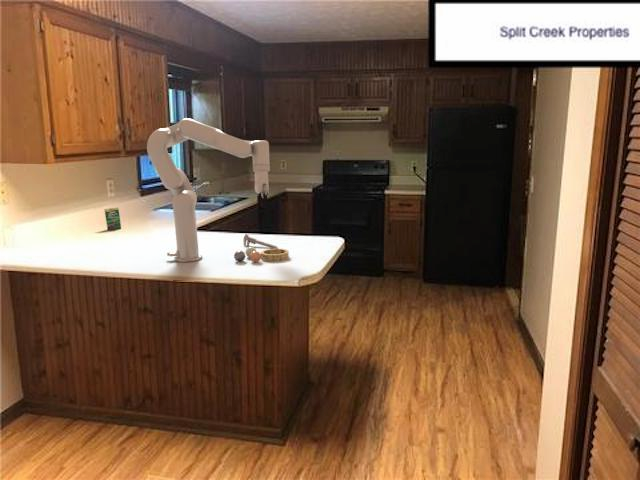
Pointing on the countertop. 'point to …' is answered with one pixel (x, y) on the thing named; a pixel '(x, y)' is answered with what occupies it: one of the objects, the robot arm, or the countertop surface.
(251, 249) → the cream ball
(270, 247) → the caliper
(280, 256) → the ring
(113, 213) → the coffee box
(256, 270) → the countertop surface
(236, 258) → the steel ball
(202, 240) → the countertop surface
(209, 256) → the countertop surface
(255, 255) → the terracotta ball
